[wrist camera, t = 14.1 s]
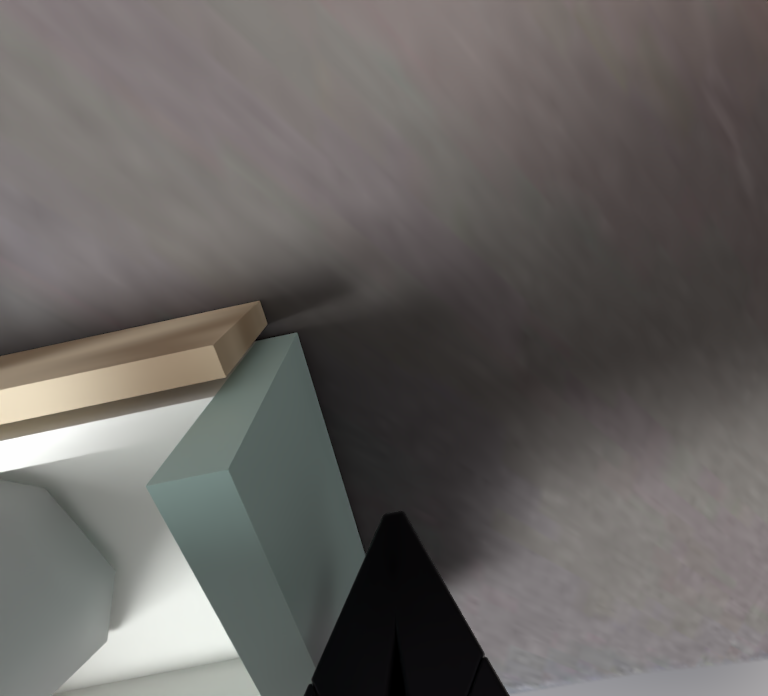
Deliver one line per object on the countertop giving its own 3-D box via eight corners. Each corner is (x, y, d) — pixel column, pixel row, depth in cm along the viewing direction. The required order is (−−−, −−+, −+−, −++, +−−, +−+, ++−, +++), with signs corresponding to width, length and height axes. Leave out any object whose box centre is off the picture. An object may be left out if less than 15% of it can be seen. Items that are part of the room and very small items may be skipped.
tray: (297, 332, 9) (228, 469, 4) (382, 611, 13) (393, 846, 8) (-273, 452, 9) (-897, 698, 5) (-29, 690, 13) (-245, 960, 8)
